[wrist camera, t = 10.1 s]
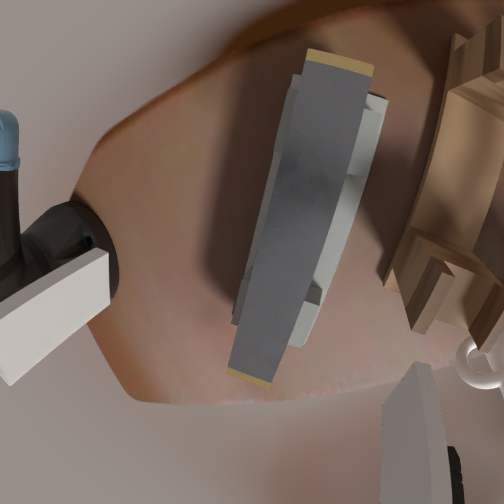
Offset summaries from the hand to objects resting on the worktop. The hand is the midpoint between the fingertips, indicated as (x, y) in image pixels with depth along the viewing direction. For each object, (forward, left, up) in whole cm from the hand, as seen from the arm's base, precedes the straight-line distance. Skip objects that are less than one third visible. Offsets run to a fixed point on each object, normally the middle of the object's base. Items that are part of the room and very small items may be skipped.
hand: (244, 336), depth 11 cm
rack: (+12, +9, -17) cm, 22 cm away
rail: (0, 0, -13) cm, 13 cm away
